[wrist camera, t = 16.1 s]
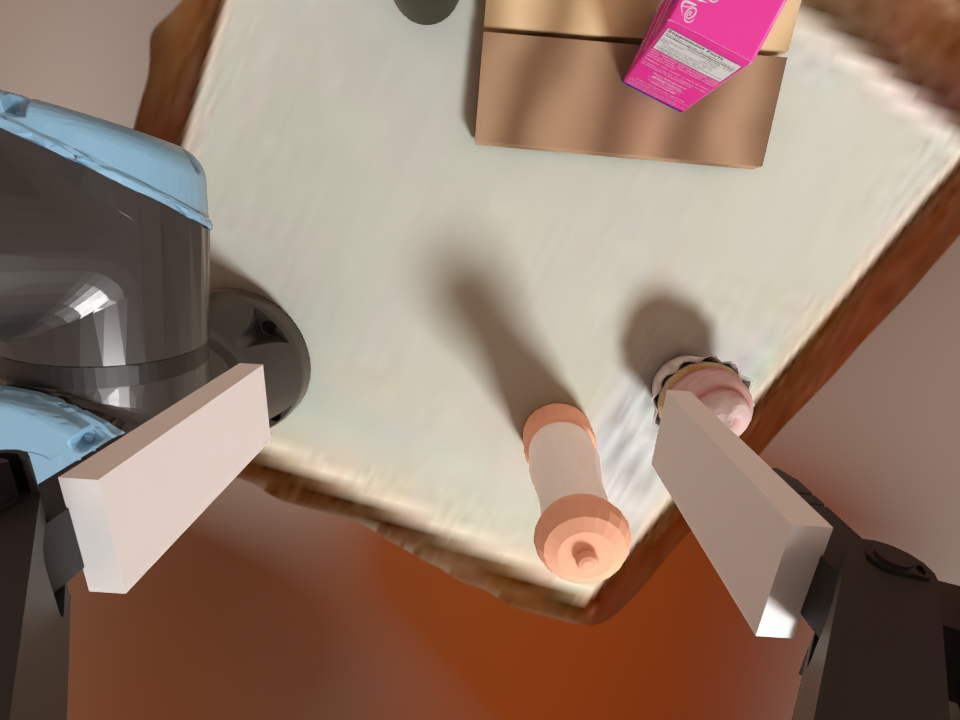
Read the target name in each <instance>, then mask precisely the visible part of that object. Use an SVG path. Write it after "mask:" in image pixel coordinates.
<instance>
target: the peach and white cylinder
mask: <svg viewBox="0 0 960 720" xmlns="http://www.w3.org/2000/svg"><path fill="white" fill-rule="evenodd" d="M523 443H524V453H525V456H526V460H527V462H528V464H529V472H530V475H531V479H532V482H533V485H534V487H535V490H536V492H537V495H538V497H539V501H540V508H541V517H540V519H539V521H538V523H537V525H536V527H535V533H534V544H535V547H536V550H537V554H538V556H539V558H540V559H541V561H542V562H543V563H544V565H545V566H546V567H547V569H549V570H550V571H551V572H553V573H554V574H556V575H557V576H559V577H560V578H562V579H563V580H566V581H569V582H572V583H580V584H589V583H595V582H600V581H602V580H604V579H606V578H608V577H611V576H612V575H613V574H614V573H615V572H616V571H617V570H619V569H620V567H621V566H622V564H623V562H624V561H625V559H626V557H627V556H628V554H629V549H630V544H631V533H630V529H629V524H628V522H627V520H626V519H625V517H624V516H623V514H622V513H621V511H620V510H619V509H618V508H616V507H615V506H614V505H612V504H611V503H610V502H608V499H607V496H606V493H605V490H604V487H603V476H602V466H601V461H600V457H599V455H598V452H597V443H596V439H595V435H594V433H593V430H592V428H591V425H590V423H589V421H588V419H587V418H586V416H585V415H584V413H582V412H581V411H580V410H579V409H577V408H576V407H573V406H571V405H568V404H563V403H553V404H548V405H544V406H542V407H541V408H539V409H537V410H535V411H534V412H533V413H532V414H531V415H530V416H529V418H528V419H527V421H526V423H525V426H524V430H523Z"/></svg>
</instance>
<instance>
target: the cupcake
mask: <svg viewBox="0 0 960 720" xmlns="http://www.w3.org/2000/svg"><path fill="white" fill-rule="evenodd" d="M752 385H753V380H752V379H751V378H748V377H745V376H743V375H741V374H740V367H739V365H738V363H737V362H733V361H729V362H721V361H720V360H719V359H718V358H717V357H716V356H714V355H712V354H711V355H708V356H704V357H699V356H692V355H685V356H679V357H676V358H674V359H672V360H670V361H668V362H666V363H665V364H664V365H663V366H662V367H661V368H660V369H659V370H658V372H657V373H656V375H655V376H654V380H653V384H652V394H653V396H652V398H651V403H652V406H653V407H654V408H655V413H654V419H653V424H654V425H655V426H657V427H659V425H660V420H661V415H662V410H663V406H664V401H665V396H666V391H667V390H678V391H691V392H692V393H693V394H694V395H695V396H696V397H697V398H698V399H699V400H700V401H701V402H702V403H703V404H704V405H705V406H706V407H707V408H708V409H710V410H711V411H712V412H713V413H714V414H715V415H716V416H717V417H718V418H719V419H720V420H721V421H722V422H723V423H724V424H725V425H726V426H727V427H728V428H729V429H730V430H732V431H733V432H734V433H735V434H736V435H737V436H740V435H741V434H742V433H743V432H744V431H745V430H746V428H747V427H748V425H749V423H750V421H751V418H752V414H753V407H754V401H753V400H752V396H751V394H750V392H749V391H750V389H751V387H752Z"/></svg>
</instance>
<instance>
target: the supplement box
mask: <svg viewBox="0 0 960 720" xmlns="http://www.w3.org/2000/svg"><path fill="white" fill-rule="evenodd" d="M786 1H787V0H662V1H661V3H660V4H659V6H658V8H657V9H656V12H655V14H654V16H653V19H652V21H651V23H650V26H649V28H648V30H647V32H646V34H645V36H644V39H643V41H642V43H641V45H640V47H639V49H638V51H637V53H636V55H635V57H634V59H633V61H632V63H631V65H630V67H629V69H628V71H627V73H626V75H625V77H624V79H623V81H622V82H623V83H624V84H626V85H628V86H630V87H632V88H634V89H636V90H638V91H640V92H642V93H644V94H646V95H648V96H649V97H651V98H653V99H655V100H657V101H659V102H661V103H663V104H665V105H667V106H669V107H671V108H673V109H675V110H677V111H679V112H683V111H685V110H686V109H687V108H689V107H690V106H692V105H693V104H694V103H696V102H697V101H699V100H700V99H701V98H703V97H704V96H706V95H707V94H709V93H710V92H711V91H713V90H714V89H715V88H717V87H718V86H720V85H721V84H722V83H724V82H725V81H727V80H728V79H730V78H731V77H732V76H734V75H735V74H737V73H738V72H739V71H741V70H742V69H744V68H745V67H747V66H748V65H749V64H751V63H752V62H753V60H754V59H755V57H756V56H757V54H758V52H759V50H760V48H761V47H762V45H763V43H764V41H765V40H766V38H767V36H768V34H769V32H770V30H771V29H772V27H773V25H774V23H775V21H776V19H777V18H778V16H779V14H780V12H781V10H782V8H783V7H784V5H785V3H786Z"/></svg>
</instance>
